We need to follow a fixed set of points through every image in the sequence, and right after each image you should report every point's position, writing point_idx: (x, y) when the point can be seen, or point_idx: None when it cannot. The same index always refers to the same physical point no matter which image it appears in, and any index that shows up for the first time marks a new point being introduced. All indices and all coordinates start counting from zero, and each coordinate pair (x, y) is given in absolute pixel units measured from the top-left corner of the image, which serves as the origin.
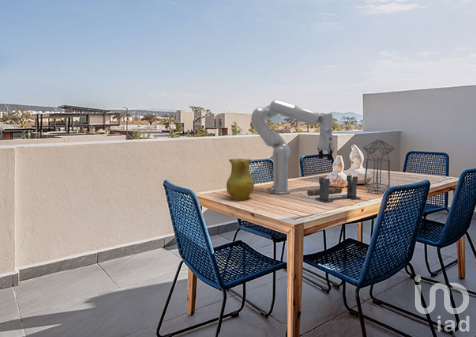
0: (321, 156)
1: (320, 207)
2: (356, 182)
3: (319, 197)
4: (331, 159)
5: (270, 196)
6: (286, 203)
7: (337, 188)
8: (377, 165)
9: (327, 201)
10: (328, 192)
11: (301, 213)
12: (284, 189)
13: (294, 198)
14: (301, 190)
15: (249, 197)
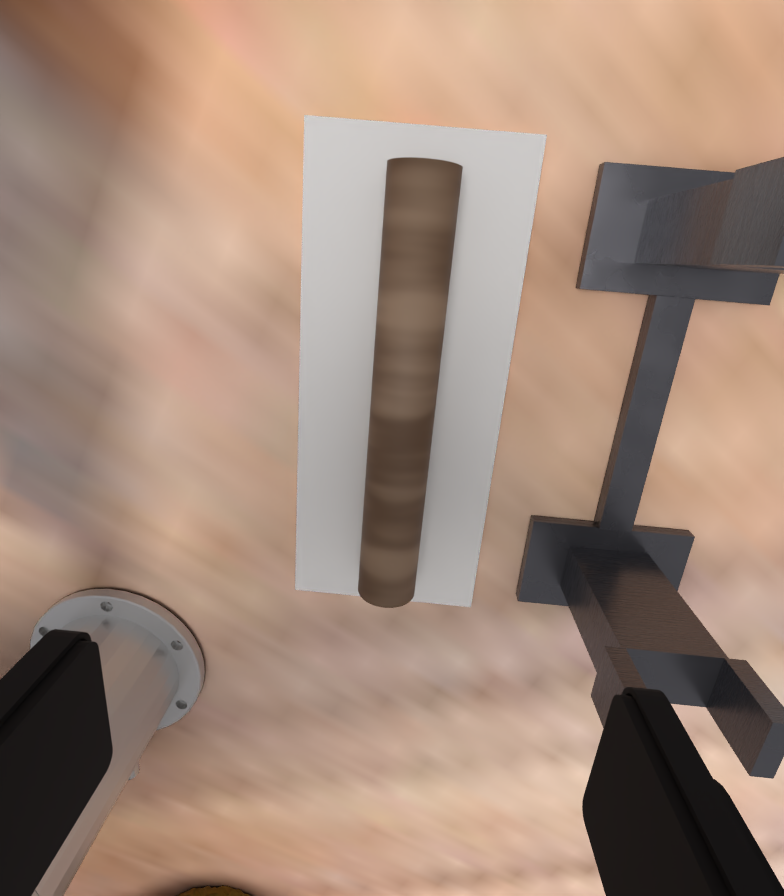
0: (58, 755)
1: None
2: None
3: (482, 523)
4: (655, 713)
5: (246, 782)
6: (508, 812)
7: (441, 235)
8: None
9: (675, 588)
10: (680, 599)
11: (780, 875)
12: (168, 687)
13: (394, 694)
14: (88, 450)
15: (233, 891)
